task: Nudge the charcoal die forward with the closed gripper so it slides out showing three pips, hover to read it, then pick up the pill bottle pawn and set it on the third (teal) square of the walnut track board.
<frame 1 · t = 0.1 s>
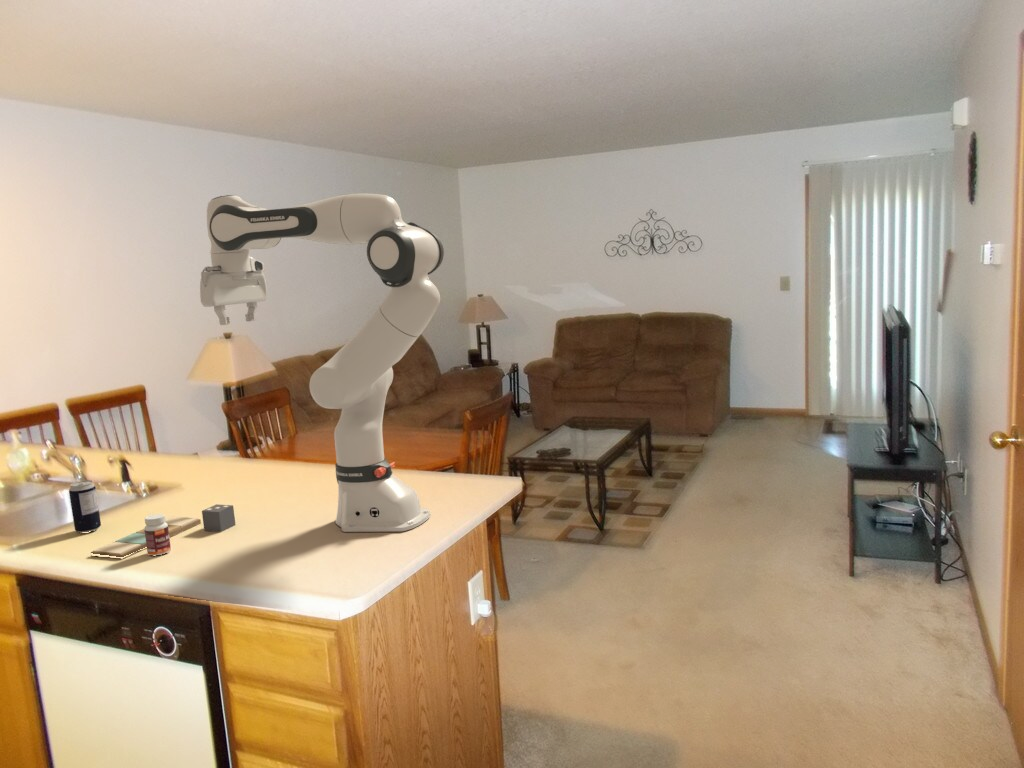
hand: (238, 323, 192), 48 cm above the worktop, fingers open, 8 cm apart
board: (148, 538, 184), on the worktop
beverage can: (88, 531, 193), on the worktop
die: (220, 528, 189), on the worktop
pill bottle: (159, 553, 174), on the worktop
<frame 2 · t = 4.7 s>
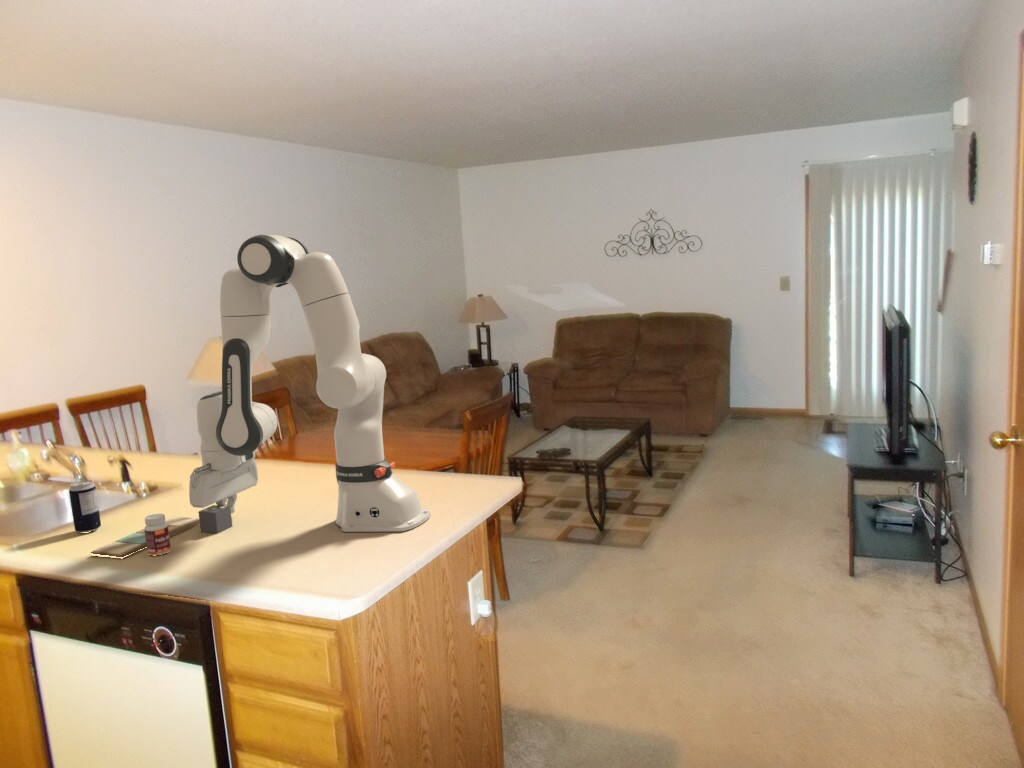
hand: (228, 514, 192), 2 cm above the worktop, fingers closed
die: (216, 529, 188), on the worktop, touching gripper
everything else where it was.
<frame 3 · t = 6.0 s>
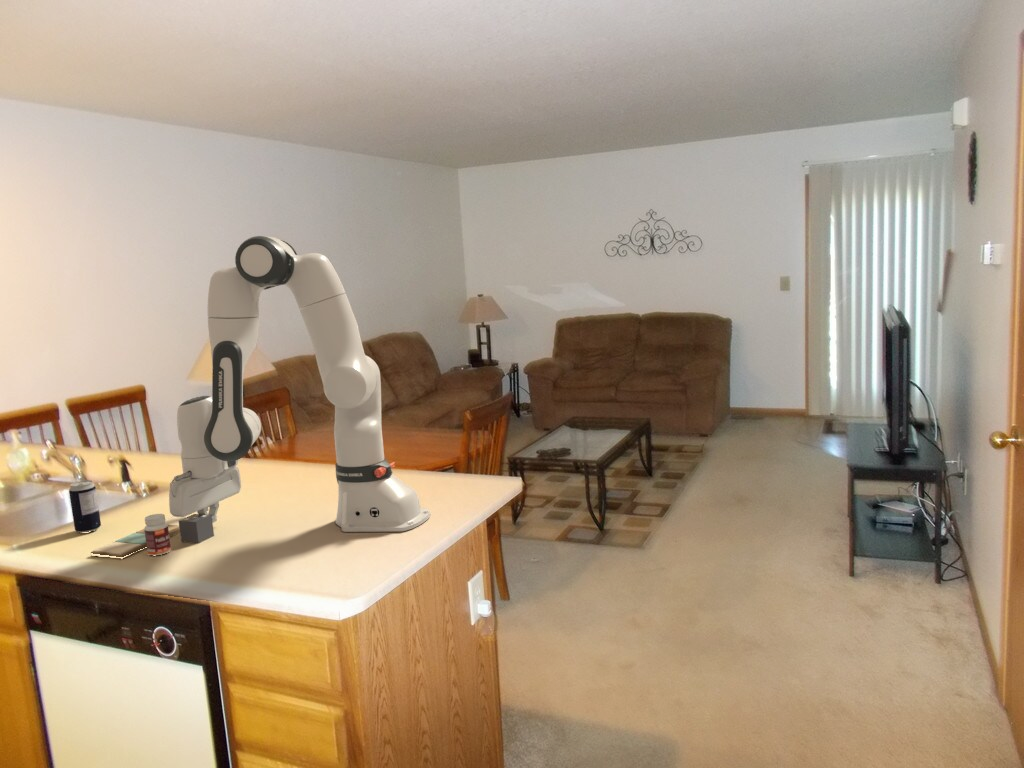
hand: (210, 523, 186), 2 cm above the worktop, fingers closed
die: (197, 538, 182), on the worktop, touching gripper
everything else where it was.
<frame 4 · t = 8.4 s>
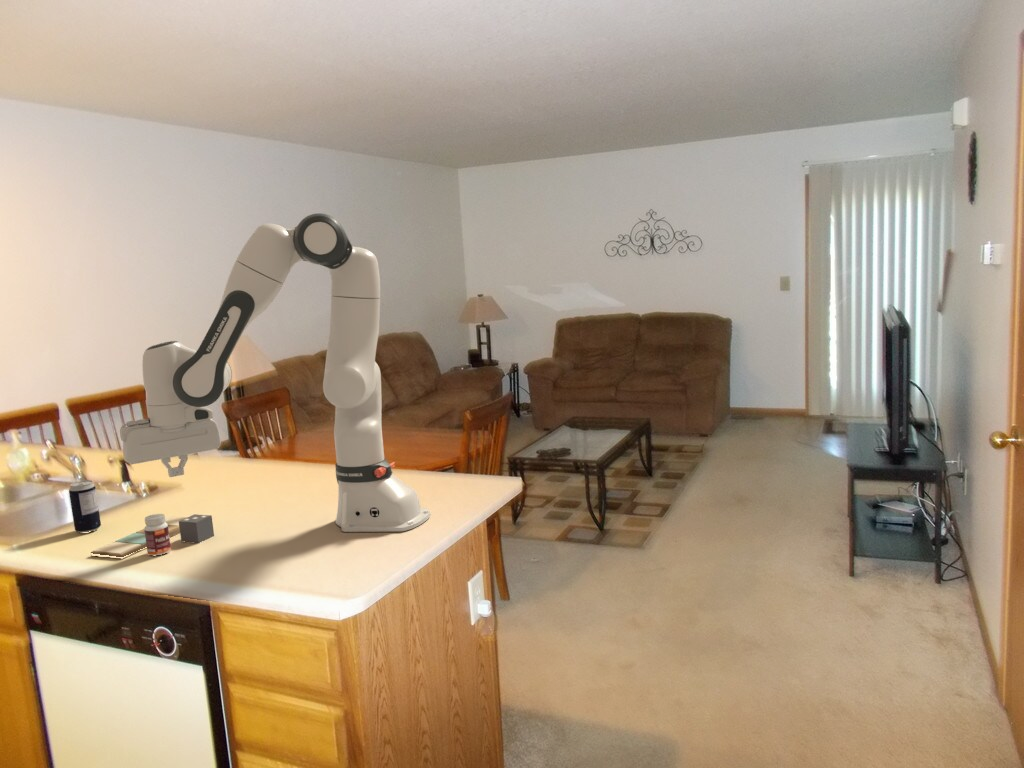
hand: (176, 475, 178), 16 cm above the worktop, fingers closed
die: (197, 539, 182), on the worktop
everything else where it was.
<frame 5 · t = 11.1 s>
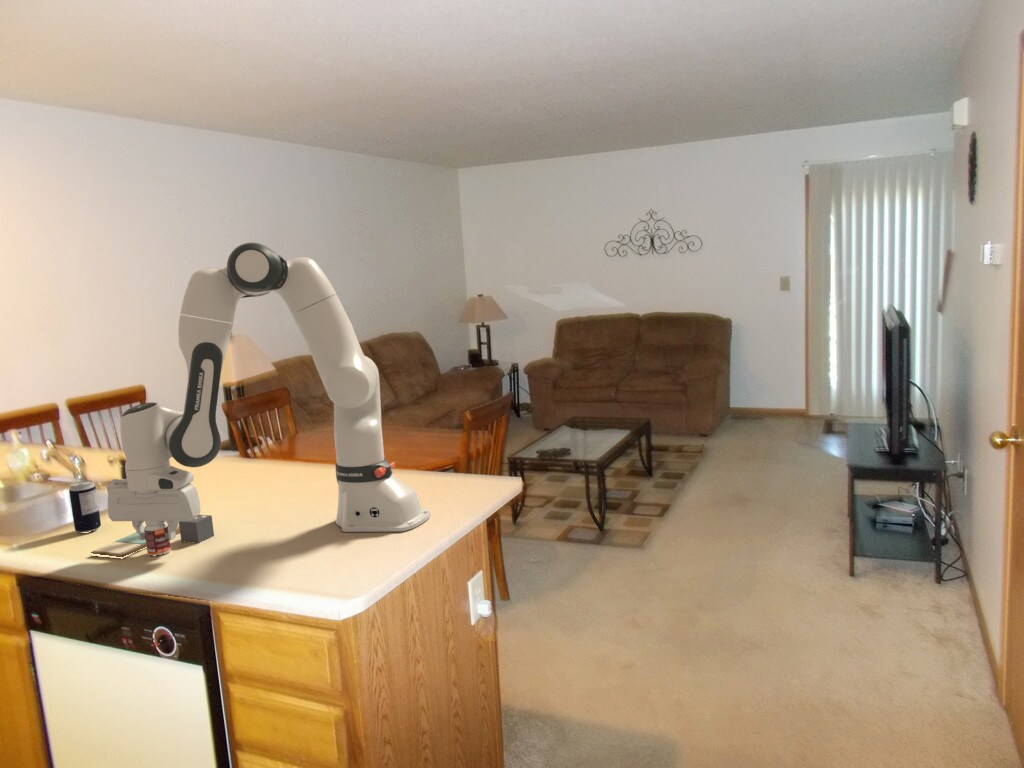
hand: (157, 539, 174), 3 cm above the worktop, fingers closed on pill bottle, 5 cm apart
pill bottle: (159, 553, 174), on the worktop, touching gripper
everything else where it was.
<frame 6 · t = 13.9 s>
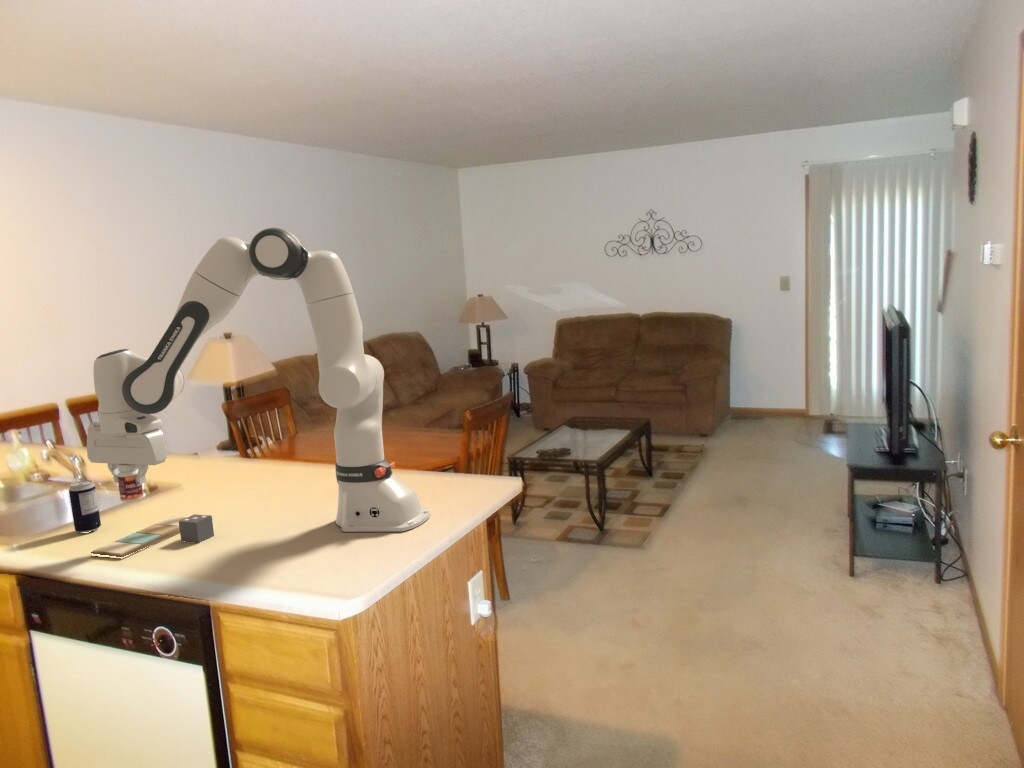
hand: (130, 482, 179), 14 cm above the worktop, fingers closed on pill bottle, 5 cm apart
pill bottle: (132, 500, 180), point 10 cm above the worktop, touching gripper
everything else where it was.
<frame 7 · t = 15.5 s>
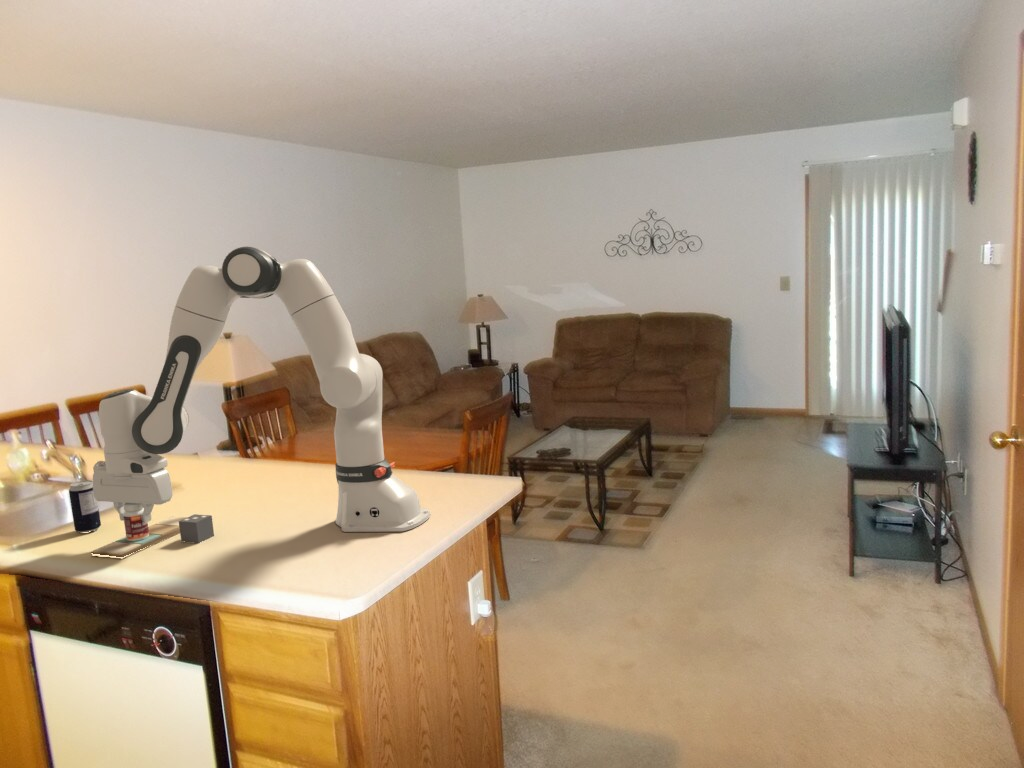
hand: (136, 520, 181), 5 cm above the worktop, fingers closed on pill bottle, 5 cm apart
pill bottle: (138, 538, 181), point 1 cm above the worktop, touching board, gripper
everything else where it was.
when the fingers open (5 cm above the worktop, at t = 15.8 s): pill bottle stays where it is, resting on board.
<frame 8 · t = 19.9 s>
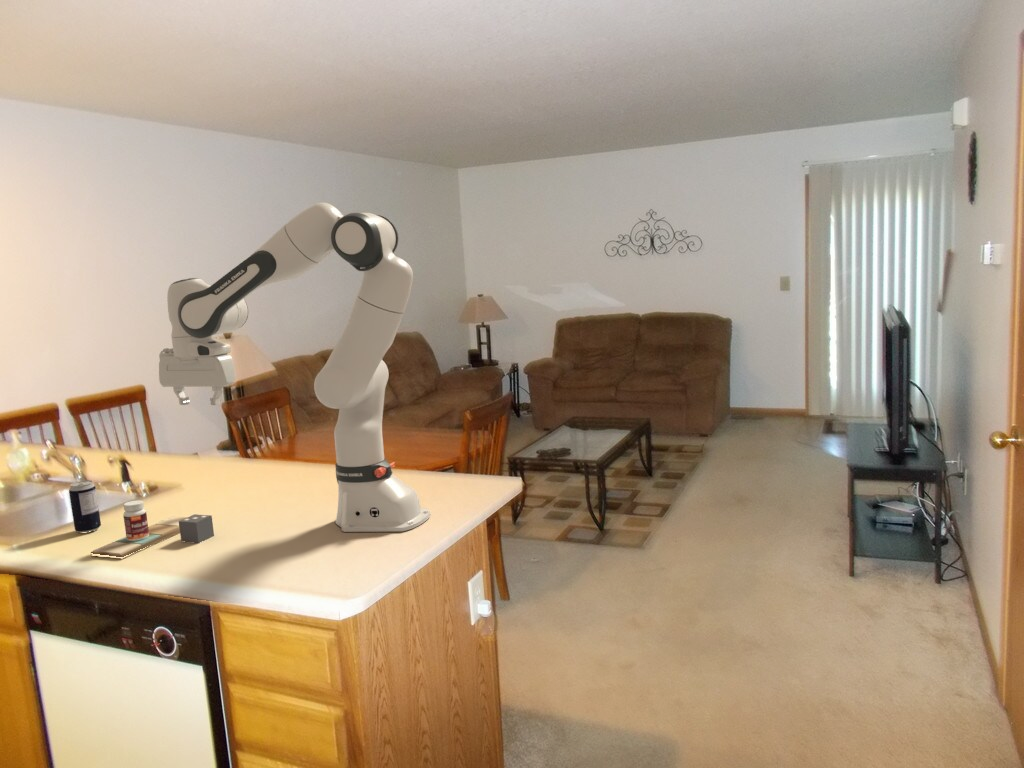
hand: (200, 404, 190), 29 cm above the worktop, fingers open, 8 cm apart
pill bottle: (138, 538, 181), point 1 cm above the worktop, touching board
everything else where it was.
at the end: pill bottle inside the target area on the board (0.1 cm from its centre), point 1.1 cm above the board's base; pill bottle tilted 0°; die moved 7.6 cm from its start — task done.
